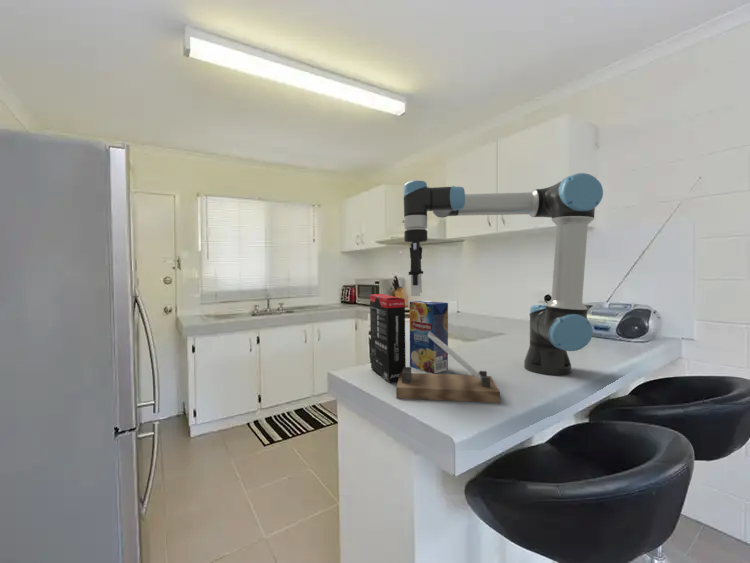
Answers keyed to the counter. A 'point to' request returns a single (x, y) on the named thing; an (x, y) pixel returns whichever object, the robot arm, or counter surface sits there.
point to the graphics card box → (387, 335)
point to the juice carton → (421, 346)
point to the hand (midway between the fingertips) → (416, 294)
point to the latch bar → (455, 356)
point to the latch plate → (447, 387)
